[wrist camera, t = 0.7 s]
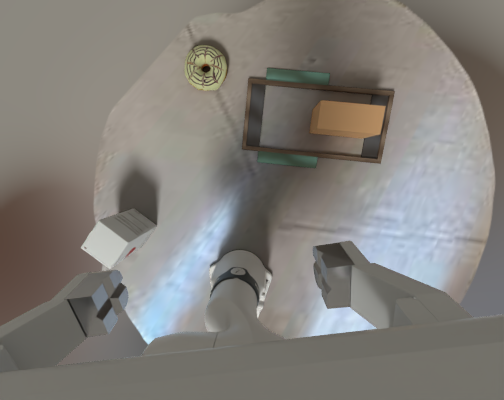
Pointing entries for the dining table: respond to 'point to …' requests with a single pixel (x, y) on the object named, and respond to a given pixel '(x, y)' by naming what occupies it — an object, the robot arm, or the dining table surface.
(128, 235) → the supplement box
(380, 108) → the orange block
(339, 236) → the dining table surface
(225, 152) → the dining table surface
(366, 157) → the trap lane
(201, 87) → the decorated donut
